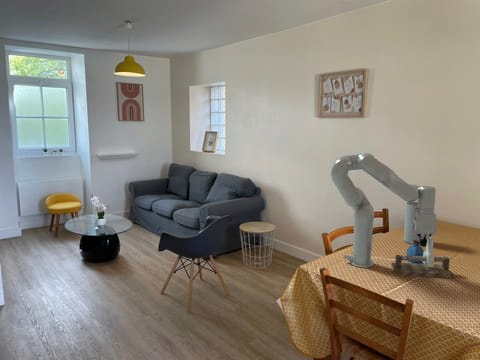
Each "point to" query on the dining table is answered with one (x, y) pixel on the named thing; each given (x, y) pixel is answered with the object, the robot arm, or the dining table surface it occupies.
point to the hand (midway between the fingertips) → (423, 246)
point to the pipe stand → (422, 267)
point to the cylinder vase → (410, 223)
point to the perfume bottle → (415, 251)
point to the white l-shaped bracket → (429, 253)
